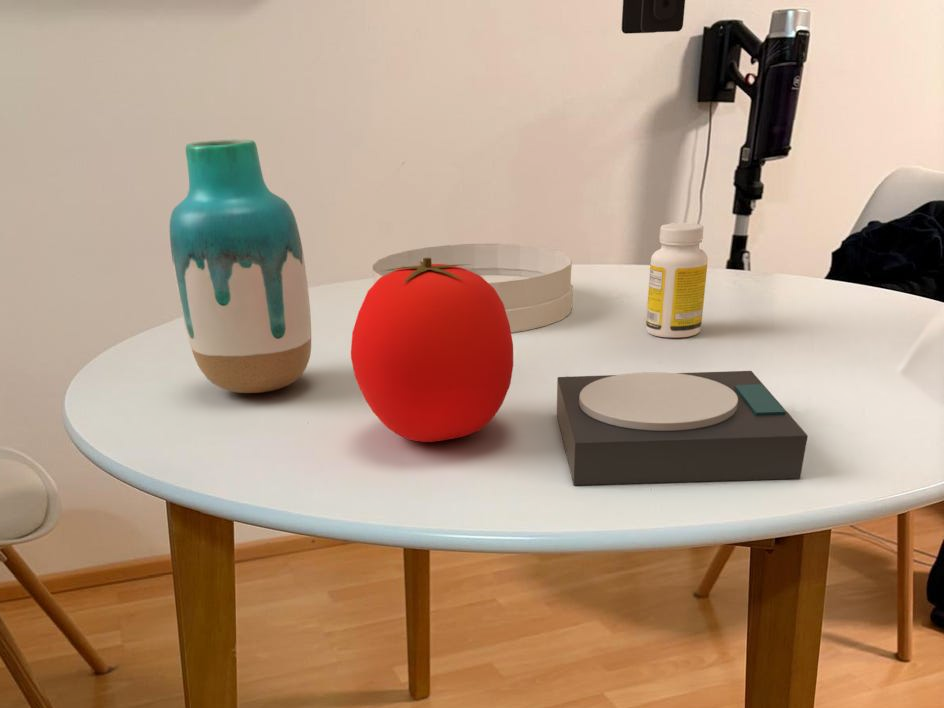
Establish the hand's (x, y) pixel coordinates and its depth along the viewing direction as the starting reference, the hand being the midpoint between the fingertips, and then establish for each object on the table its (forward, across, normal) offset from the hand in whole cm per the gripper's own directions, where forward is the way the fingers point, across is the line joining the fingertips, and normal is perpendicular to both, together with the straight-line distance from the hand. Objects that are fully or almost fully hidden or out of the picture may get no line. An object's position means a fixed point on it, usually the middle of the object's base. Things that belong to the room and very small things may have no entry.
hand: (650, 32), depth 75 cm
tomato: (+25, -24, +18) cm, 40 cm away
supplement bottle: (+25, +3, -5) cm, 26 cm away
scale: (+25, -27, +2) cm, 37 cm away
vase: (+26, -11, +34) cm, 44 cm away
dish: (+26, +15, +15) cm, 33 cm away
